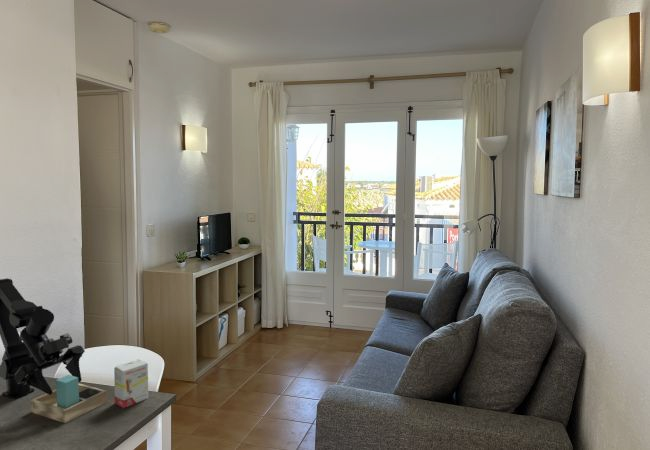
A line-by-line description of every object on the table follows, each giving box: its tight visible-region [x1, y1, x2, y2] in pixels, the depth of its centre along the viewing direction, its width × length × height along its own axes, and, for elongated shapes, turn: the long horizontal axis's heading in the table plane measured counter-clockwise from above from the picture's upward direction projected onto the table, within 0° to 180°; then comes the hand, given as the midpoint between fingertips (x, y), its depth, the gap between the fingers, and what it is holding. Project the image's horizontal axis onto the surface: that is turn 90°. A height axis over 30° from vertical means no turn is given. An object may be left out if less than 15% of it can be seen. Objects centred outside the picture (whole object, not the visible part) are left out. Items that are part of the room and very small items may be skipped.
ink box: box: [113, 359, 149, 409], centre depth 149 cm, size 9×5×12 cm, turn 143°
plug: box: [55, 374, 80, 409], centre depth 140 cm, size 4×4×10 cm
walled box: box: [30, 383, 108, 424], centre depth 145 cm, size 14×14×4 cm
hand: (66, 387), depth 140 cm, fingers open, 9 cm apart
